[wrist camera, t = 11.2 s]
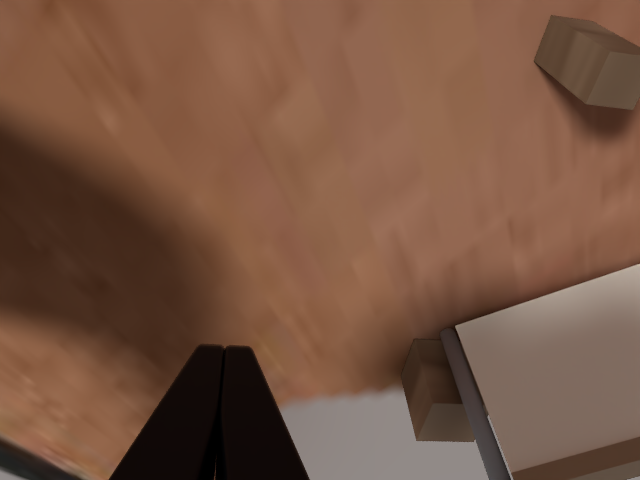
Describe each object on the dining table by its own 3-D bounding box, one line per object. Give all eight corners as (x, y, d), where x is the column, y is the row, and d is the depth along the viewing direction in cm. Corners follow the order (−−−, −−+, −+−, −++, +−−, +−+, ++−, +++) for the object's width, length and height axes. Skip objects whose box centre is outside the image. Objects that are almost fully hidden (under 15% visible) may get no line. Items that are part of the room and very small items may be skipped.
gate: (436, 329, 27) (495, 499, 20) (724, 232, 25) (905, 387, 18) (442, 343, 28) (501, 513, 21) (723, 250, 25) (897, 407, 18)
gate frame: (400, 376, 30) (416, 440, 26) (532, 12, 18) (587, 48, 15) (452, 378, 30) (473, 441, 27) (611, 24, 19) (681, 61, 16)
